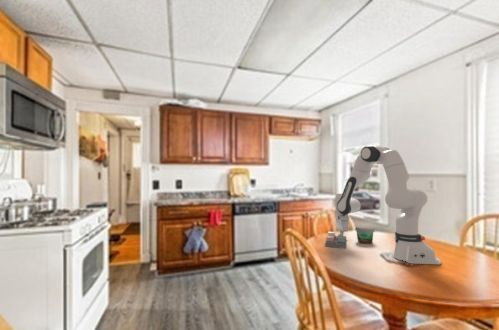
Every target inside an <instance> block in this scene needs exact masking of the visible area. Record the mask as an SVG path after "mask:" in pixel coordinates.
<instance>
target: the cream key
mask: <svg viewBox="0 0 499 330" xmlns="http://www.w3.org/2000/svg"><path fill="white" fill-rule="evenodd" d="M327 235H328V236H334V237H335V236H336V232H335V231H328V232H327Z"/></svg>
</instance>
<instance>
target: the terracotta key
mask: <svg viewBox="0 0 499 330" xmlns="http://www.w3.org/2000/svg"><path fill="white" fill-rule="evenodd" d="M326 240H327V241H330V242H334V236H326Z"/></svg>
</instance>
